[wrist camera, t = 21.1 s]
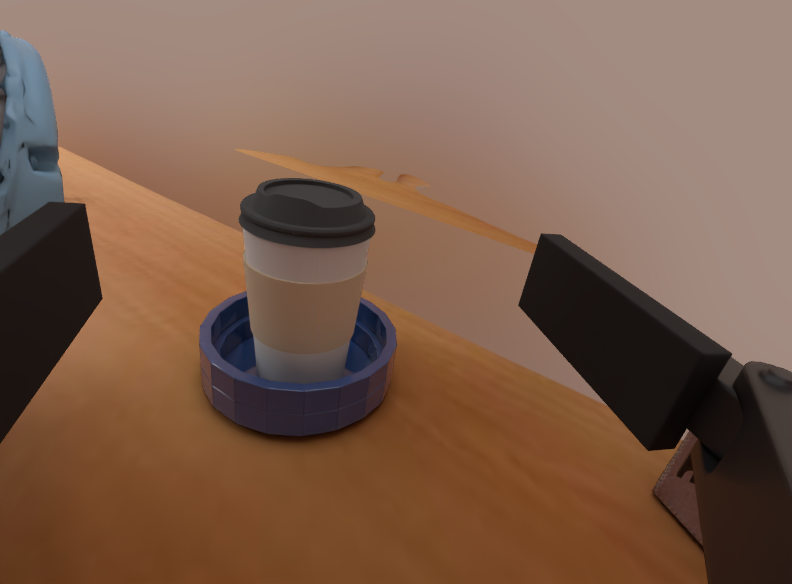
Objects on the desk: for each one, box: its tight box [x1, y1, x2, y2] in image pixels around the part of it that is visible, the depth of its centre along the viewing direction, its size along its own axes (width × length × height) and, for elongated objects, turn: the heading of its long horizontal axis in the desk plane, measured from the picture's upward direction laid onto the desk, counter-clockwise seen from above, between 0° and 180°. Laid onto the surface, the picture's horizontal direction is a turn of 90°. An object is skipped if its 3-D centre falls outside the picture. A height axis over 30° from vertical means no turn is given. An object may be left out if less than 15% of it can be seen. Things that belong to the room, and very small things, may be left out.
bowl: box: [199, 291, 397, 436], centre depth 35 cm, size 15×15×4 cm
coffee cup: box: [239, 178, 375, 384], centre depth 32 cm, size 9×9×15 cm
